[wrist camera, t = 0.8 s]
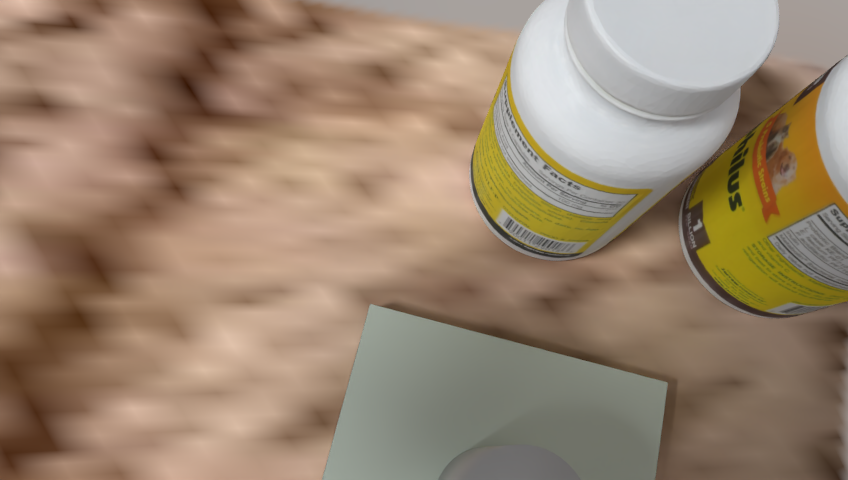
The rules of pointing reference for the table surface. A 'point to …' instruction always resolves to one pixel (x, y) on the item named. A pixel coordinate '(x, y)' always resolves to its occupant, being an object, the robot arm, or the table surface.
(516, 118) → the supplement bottle
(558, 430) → the post block
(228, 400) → the table surface
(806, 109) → the supplement bottle
